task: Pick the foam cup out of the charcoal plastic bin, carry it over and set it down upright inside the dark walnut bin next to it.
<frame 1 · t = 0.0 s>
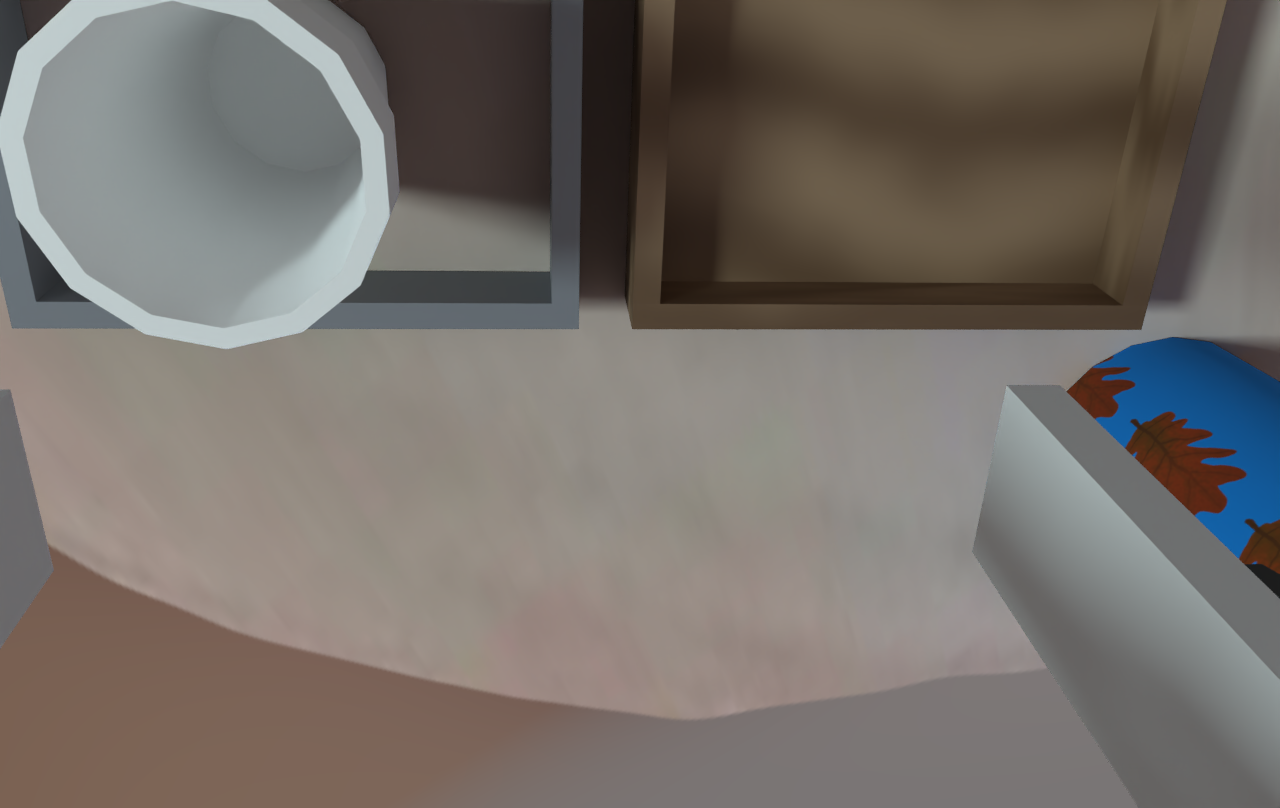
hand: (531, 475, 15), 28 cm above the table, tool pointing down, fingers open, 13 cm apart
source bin: (298, 84, 39), on the table
foam cup: (300, 83, 39), on the table
thermos: (1146, 441, 49), on the table
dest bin: (894, 98, 41), on the table
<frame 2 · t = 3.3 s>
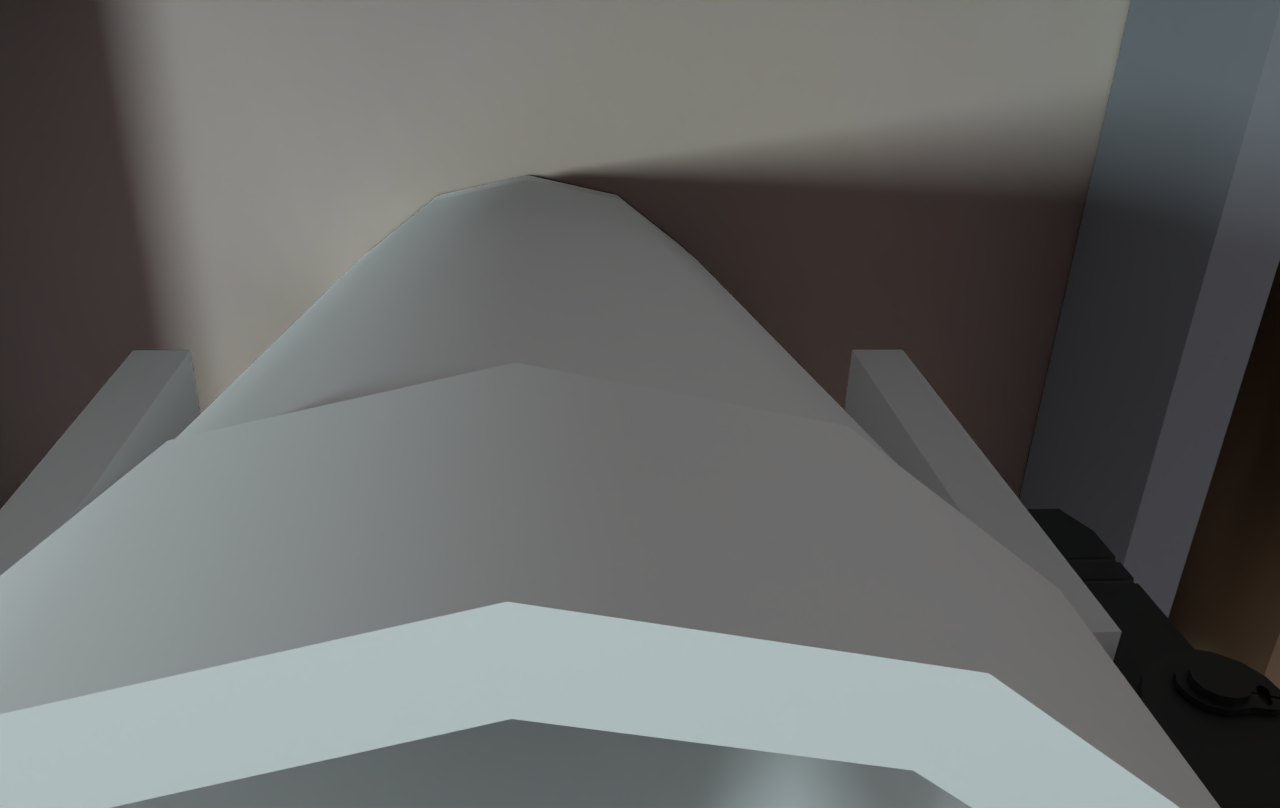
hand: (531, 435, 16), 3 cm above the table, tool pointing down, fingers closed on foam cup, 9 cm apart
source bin: (531, 363, 18), on the table
foam cup: (531, 358, 18), on the table, touching gripper
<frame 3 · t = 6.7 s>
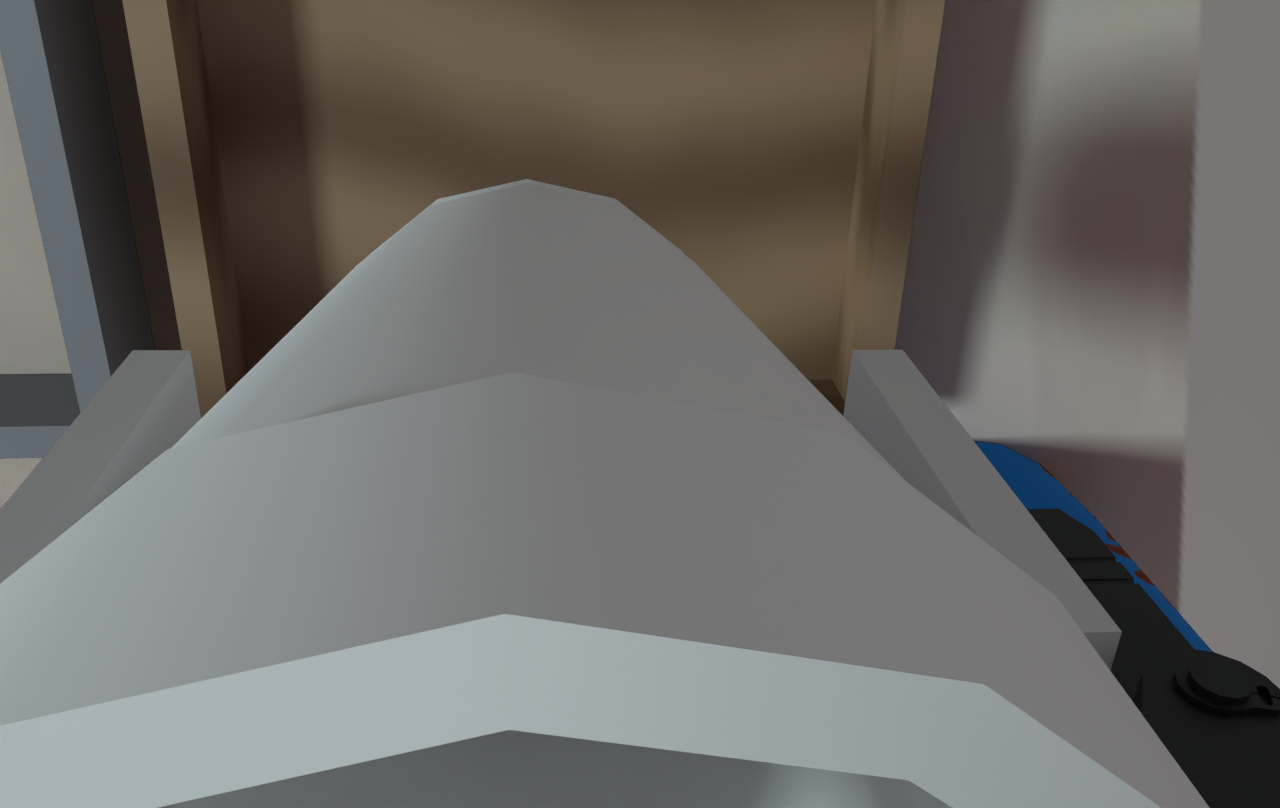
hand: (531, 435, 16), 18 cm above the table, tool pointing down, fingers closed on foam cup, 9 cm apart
foam cup: (531, 362, 18), point 15 cm above the table, touching gripper
thermos: (933, 562, 40), on the table
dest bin: (546, 150, 31), on the table
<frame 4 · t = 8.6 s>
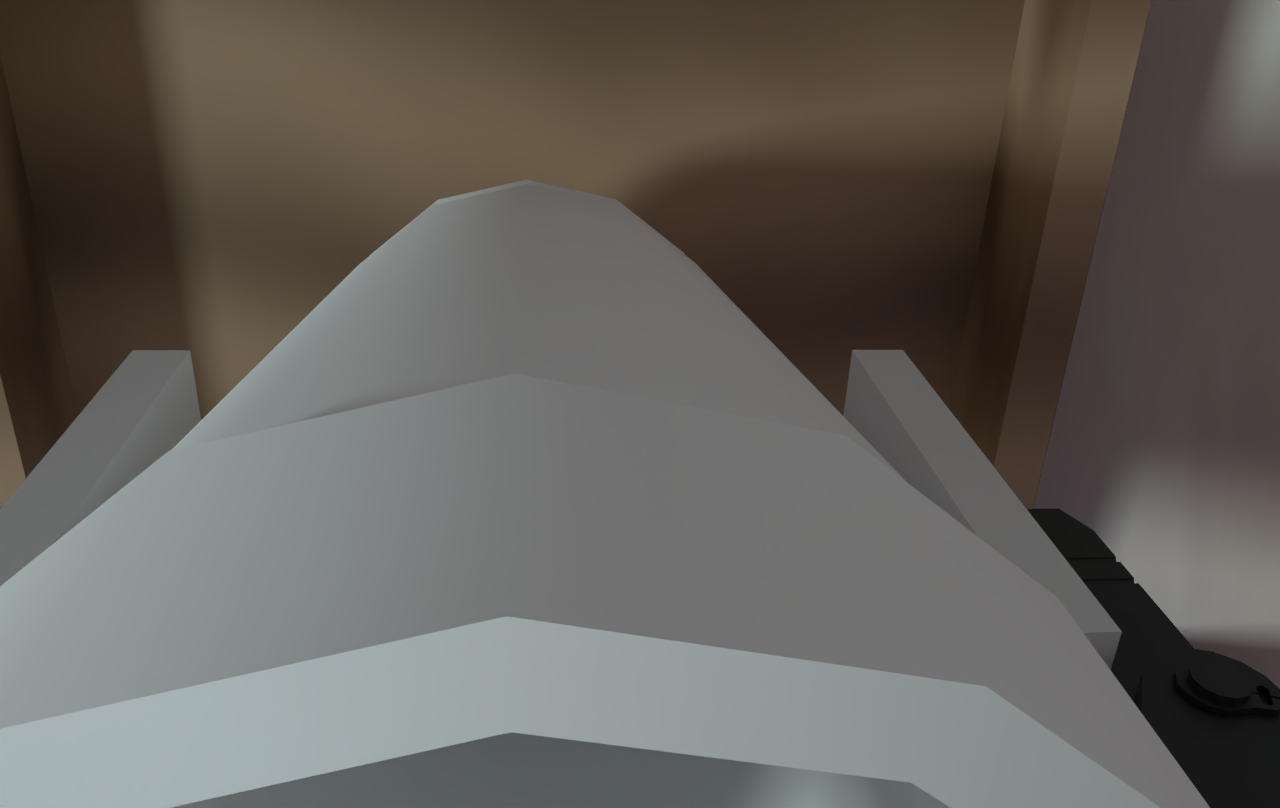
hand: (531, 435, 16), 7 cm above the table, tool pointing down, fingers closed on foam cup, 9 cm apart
foam cup: (531, 362, 18), point 4 cm above the table, touching gripper
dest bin: (530, 267, 22), on the table
when the fingers open (5 cm above the table, at t = 10.0 s): foam cup drops 1 cm, resting on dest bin.
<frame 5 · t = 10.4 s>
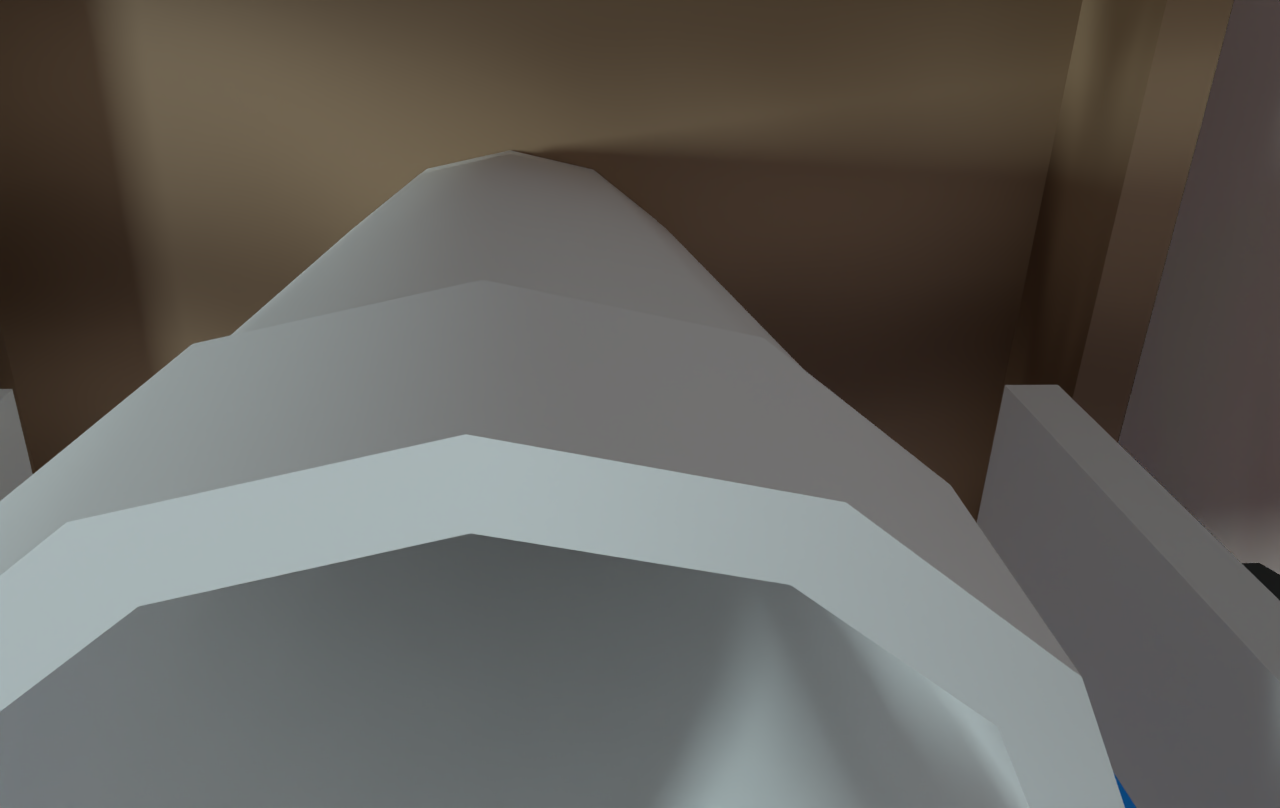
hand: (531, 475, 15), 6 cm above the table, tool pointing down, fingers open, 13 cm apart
foam cup: (514, 324, 19), point 1 cm above the table, touching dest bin
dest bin: (531, 309, 20), on the table
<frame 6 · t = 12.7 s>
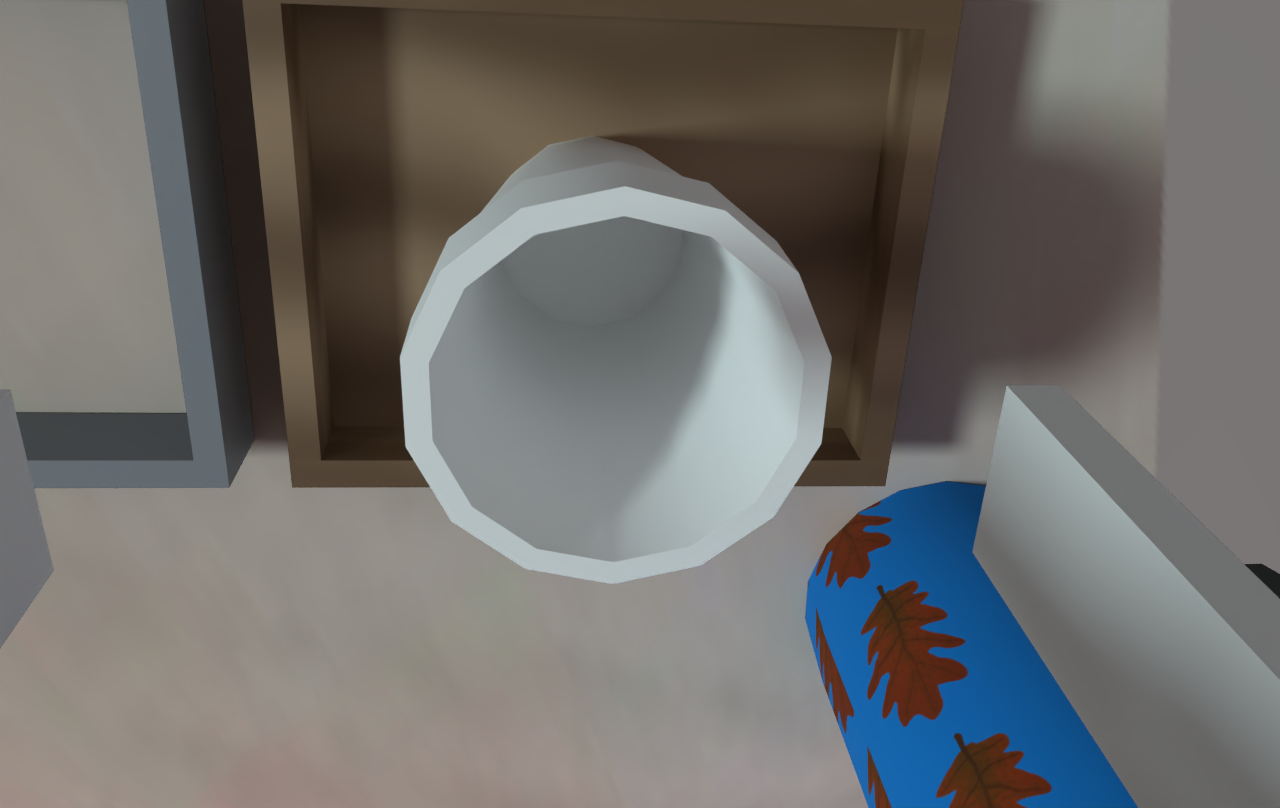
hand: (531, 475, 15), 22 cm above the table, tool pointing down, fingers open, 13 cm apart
foam cup: (590, 232, 35), point 1 cm above the table, touching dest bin
thermos: (929, 590, 44), on the table
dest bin: (598, 226, 36), on the table
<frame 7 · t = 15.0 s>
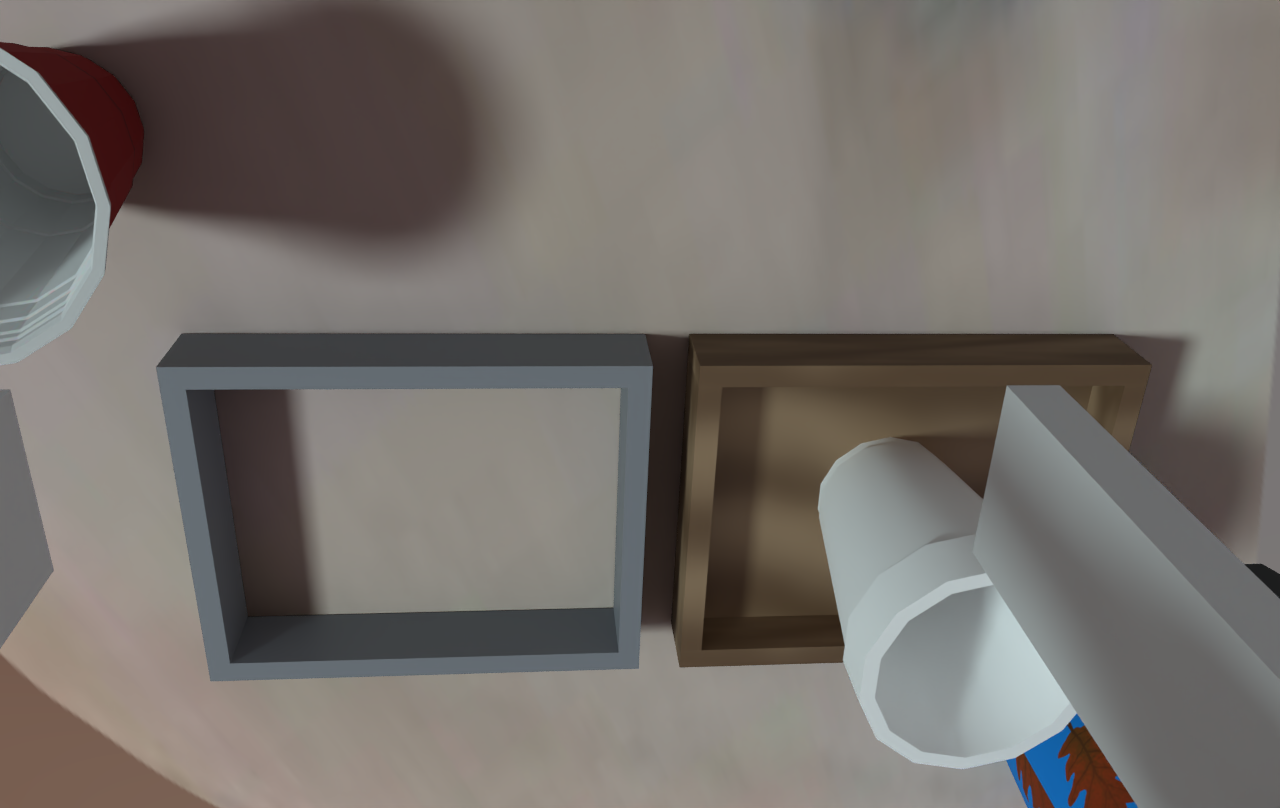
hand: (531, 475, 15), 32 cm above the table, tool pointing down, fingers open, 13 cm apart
plastic cup: (69, 118, 42), on the table
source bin: (426, 491, 51), on the table
foam cup: (880, 493, 52), point 1 cm above the table, touching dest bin
thermos: (1085, 709, 61), on the table
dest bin: (881, 485, 53), on the table
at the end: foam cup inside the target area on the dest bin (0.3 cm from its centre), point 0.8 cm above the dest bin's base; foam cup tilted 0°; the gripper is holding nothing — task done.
